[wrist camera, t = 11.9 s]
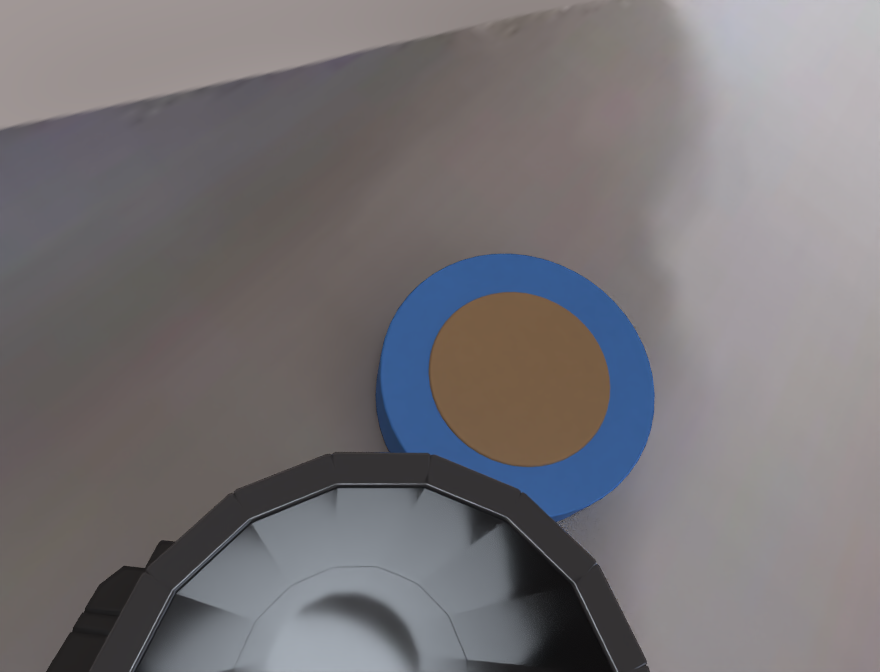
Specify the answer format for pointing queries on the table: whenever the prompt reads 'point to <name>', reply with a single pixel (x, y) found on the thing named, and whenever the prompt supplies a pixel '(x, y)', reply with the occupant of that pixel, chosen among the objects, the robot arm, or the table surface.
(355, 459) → the bin
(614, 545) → the table surface
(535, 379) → the tape
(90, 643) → the robot arm
